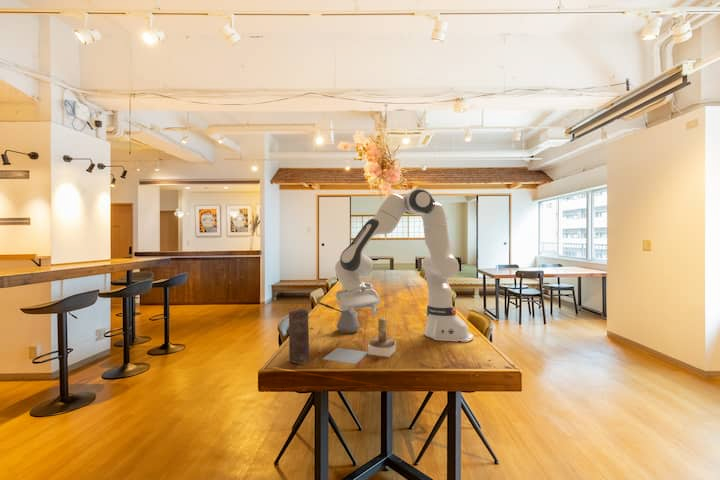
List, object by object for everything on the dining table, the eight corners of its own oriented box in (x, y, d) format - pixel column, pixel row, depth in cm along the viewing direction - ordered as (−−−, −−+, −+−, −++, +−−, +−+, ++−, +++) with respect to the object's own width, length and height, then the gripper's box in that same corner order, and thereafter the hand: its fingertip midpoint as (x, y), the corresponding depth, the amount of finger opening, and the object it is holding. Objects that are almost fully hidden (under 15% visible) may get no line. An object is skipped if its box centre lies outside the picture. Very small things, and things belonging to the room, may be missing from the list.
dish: (395, 351, 142) (395, 341, 142) (389, 358, 133) (389, 348, 133) (375, 348, 145) (375, 339, 145) (367, 355, 137) (367, 345, 137)
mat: (368, 353, 139) (368, 352, 139) (355, 365, 126) (355, 363, 126) (337, 349, 144) (337, 347, 144) (321, 360, 131) (321, 358, 131)
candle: (291, 367, 124) (292, 312, 124) (286, 361, 130) (286, 308, 130) (312, 364, 127) (312, 310, 127) (305, 357, 134) (305, 306, 134)
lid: (397, 341, 142) (397, 317, 142) (390, 348, 133) (390, 323, 133) (374, 338, 146) (374, 315, 146) (366, 345, 136) (366, 320, 136)
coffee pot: (358, 327, 178) (358, 299, 178) (360, 334, 167) (361, 303, 167) (316, 329, 176) (316, 299, 176) (316, 335, 164) (316, 304, 164)
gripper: (336, 287, 149) (348, 314, 141) (374, 283, 160) (387, 308, 152) (331, 296, 152) (342, 322, 144) (368, 292, 164) (381, 316, 156)
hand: (366, 315), depth 148 cm, fingers open, 8 cm apart
